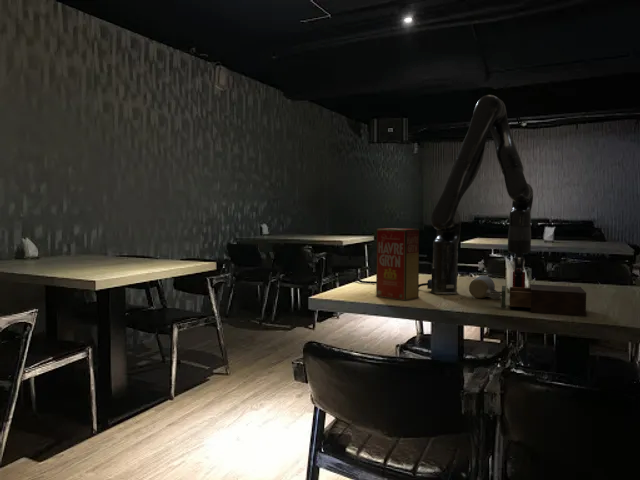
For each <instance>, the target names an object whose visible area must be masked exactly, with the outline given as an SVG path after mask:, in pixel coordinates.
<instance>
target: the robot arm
mask: <svg viewBox="0 0 640 480" xmlns="http://www.w3.org/2000/svg"><path fill="white" fill-rule="evenodd" d="M490 133H491V136H492V139H493V142H494V149H495V155H496V158H497V161H498V165H499V167H500V170H501V173H502V175H503V177H504V183H505V188H506V193H507V194H508V197H509V198H510V199H511V201H512V203H511V210H510V211H509V217H508V219H509V220H508V231H507V252H508V253H511V254H514V257H512V263H513V264H512V265H513V266H512V268H513V271H515V274H514V275H515V287H522V275H523V272H525V264H526V258H525V257H523V255H524V254H530V253H531V252H532V251H531V249H532V228H531V227H532V225H531V224H532V207H533V202H534V190H533V187H532V185H530V184H529V183H528V182H527V179H526V177H525V174H524V171H525V170H524V165H523V162H522V160H521V157H520V154H519V152H518V149H517V147H516V144H515V142H514V138H513V135H512V133H511V128H510V124H509V120H508V115H507V108H506V104H505V103H504V100H502V99H501V98H499V97H498V96H496V95H493V94H486V95H483V96H482V97H480V99H479V100H478V101H477V103H476V104H475V107H474V110H473V114H472V117H471V120H470V124H469V127H468V130H467V133H466V135H465V137H464V139H463V141H462V144H461V146H460V148H459V151H458V153H457V155H456V158H455V160H454V162H453V164H452V166H451V167H452V168H451V170H450V173H449V176H448V178H447V180H446V183H445V186H444V188H443V191H442V193H441V195H440V197H439V199H438V201H437V203H436V205H435V207H434V208H433V211H432V212H431V215H430V224H431V225H432V227H433V229H435V230H436V235H435V237H434V240H433V242H432V267H431V278H429V279H427V281H426V282H424V283H419V288H420V287H424V286H427V288H426V289H427V290H431V291H430V293H431V294H436V295H446V296H448V295H451V296H452V295H457V294H458V261H459V259H458V258H459V242H460V239H461V222H462V221H461V218H462V217H461V214H460V211H459V210H458V208H459V205H460V202H461V201H462V198H463V197H464V195H465V194H466V192H467V191H468V189H469V188H470V187H471V186H472V184H473V183H474V181H475V179H476V177H477V176H478V174H479V172H480V169H481V166H482V164H483V160H484V156H485V151H486V143H487V139H488V136H489V134H490ZM356 281H357V282H358V283H361V284H370V285H371V284H372V285H375V284H376V280H375V281H372V280H371V281H370V280H361V279H360V278H359V277H354V278H353V279H352V281H351V282H356Z"/></svg>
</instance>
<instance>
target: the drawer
mask: <svg viewBox="0 0 640 480" xmlns="http://www.w3.org/2000/svg"><path fill="white" fill-rule="evenodd" d="M493 293H500V294H493ZM506 294H507V286H506V285H501V291H498V290H496V291H490V290H487V291H486V296H487V297H488V298H490V297H489V296H490V295H491V296H501V297H500V299H501V301H500V303H501V304H500V307H501V308H506V297H507V296H506ZM509 307H513V308H514V307H515V308H529V309H530V308H531V289H530V287H525V288H520V287H512V286H509Z"/></svg>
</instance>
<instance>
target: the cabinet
mask: <svg viewBox="0 0 640 480" xmlns="http://www.w3.org/2000/svg"><path fill="white" fill-rule="evenodd" d="M529 288H530V289H531V308H529V310H530V313H535V314H550V315H563V316H575V317H577V316H579V317H586V316H587V292H586V291H585V289H583V288H582V287H581V286H572V285H571V286H570V285H569V286H568V285H553V284H552V285H549V284H535V283H534V284H532V283H530V284H529Z"/></svg>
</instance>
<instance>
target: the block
mask: <svg viewBox="0 0 640 480" xmlns="http://www.w3.org/2000/svg"><path fill="white" fill-rule="evenodd" d="M514 274H515V271H514V270H513V271H512V286H511V287H515V275H514ZM520 288H526V271H523V275H522V287H520Z"/></svg>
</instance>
